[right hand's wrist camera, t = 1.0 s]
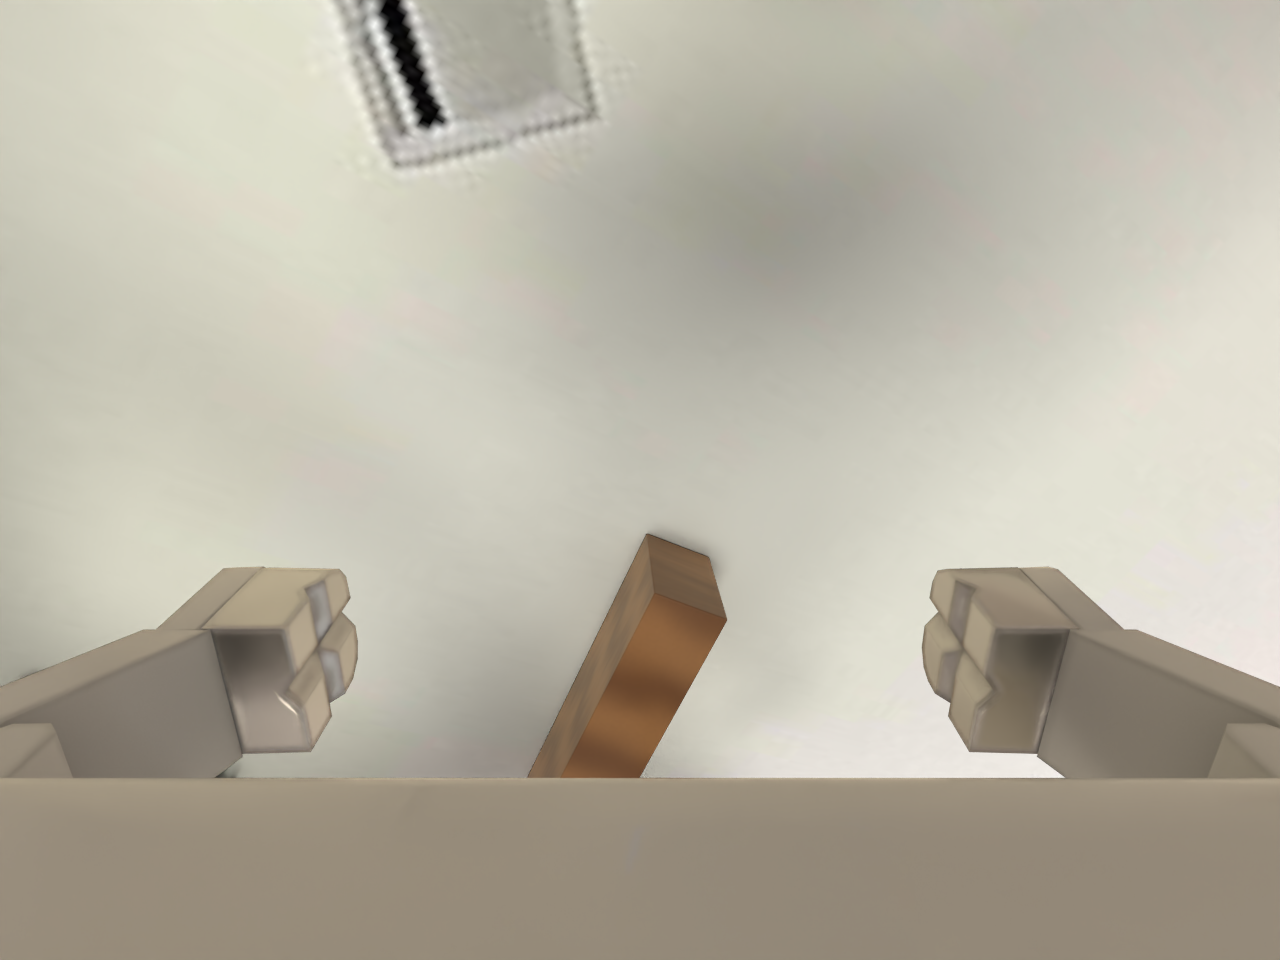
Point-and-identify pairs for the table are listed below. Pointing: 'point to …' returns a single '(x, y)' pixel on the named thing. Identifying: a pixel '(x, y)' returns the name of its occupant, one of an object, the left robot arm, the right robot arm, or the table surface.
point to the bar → (636, 667)
